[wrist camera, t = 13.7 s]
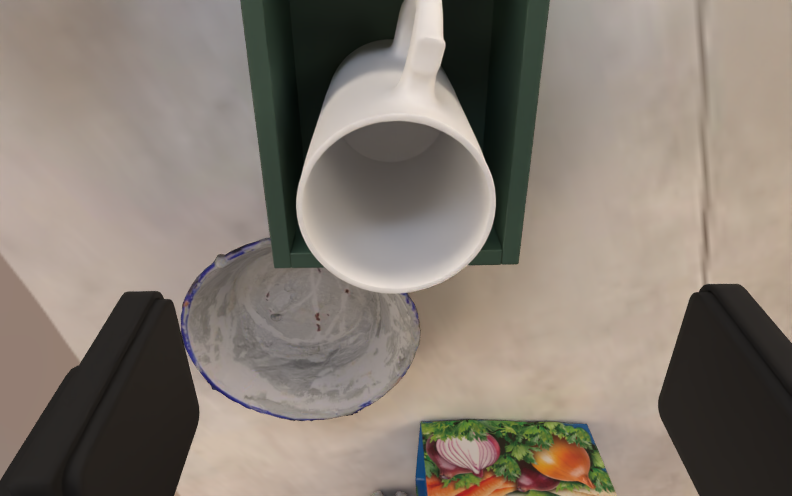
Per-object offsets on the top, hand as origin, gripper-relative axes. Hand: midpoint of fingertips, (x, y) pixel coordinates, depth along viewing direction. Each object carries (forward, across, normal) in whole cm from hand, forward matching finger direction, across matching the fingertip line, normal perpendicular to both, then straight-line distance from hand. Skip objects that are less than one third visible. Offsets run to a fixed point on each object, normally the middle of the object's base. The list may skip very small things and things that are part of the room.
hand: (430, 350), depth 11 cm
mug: (+22, 0, +1) cm, 22 cm away
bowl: (+22, +6, +15) cm, 27 cm away
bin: (+22, 0, +1) cm, 22 cm away
